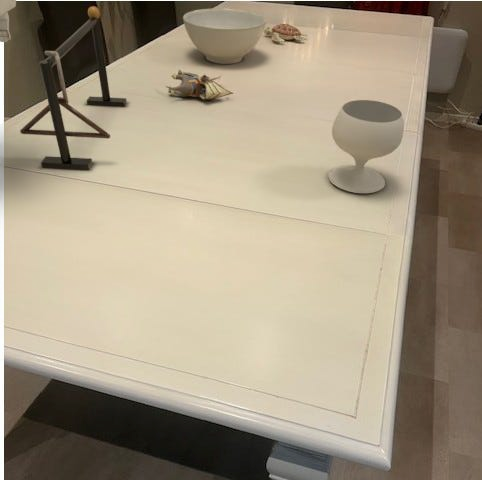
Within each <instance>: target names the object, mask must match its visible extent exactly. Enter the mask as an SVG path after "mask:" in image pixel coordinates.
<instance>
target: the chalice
mask: <svg viewBox="0 0 482 480" xmlns="http://www.w3.org/2000/svg"><path fill="white" fill-rule="evenodd" d="M404 128H405V124H404V117H403V114H402V111H401V110H400V109H399V108H397V107H396V106H394V105H391V104H389V103H386V102H382V101H378V100H372V99H371V100H369V99H357V100H352V101H351V100H350V101H348V102H346V103H344V104H343V105H342V106H341V107H340V109H339V111H338V112H337V114H336V116H335V119H334V121H333V124H332V127H331V135H332V139H333V141H334V144H335V145H336V146H337V147H338V148H339V149H340V150H342V151H343V152H344V153H346V154H348V155H349V156H351V157H352V158H353V159H354V164H355V165H353V164H352V165H350V164H349V165H346V164H345V165H341V166H337V167H335V168H333V169H331V170H330V171H329V173H328V179H329V182H331V183H332V185H334V186H335V187H337V188H339V189H341V190H344V191H346V192H350V193H356V194H371V193H376V192H379V191H381V190H383V188H384V187H385V185H386V180H385V179H384V177H383V175H381V174H380V173H379V172H377V171H376V170H374V169H371V168H369V167H365V165H366V163H367V162H368V161H370V160H372V159H378V158H382V157H385V156H388V155H390V154H392V153H393V152H394V151H396V150H397V149H398V148H399V147H400V145H401V144H402V140H403V137H404Z"/></svg>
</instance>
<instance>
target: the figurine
mask: <svg viewBox="0 0 482 480" xmlns="http://www.w3.org/2000/svg"><path fill="white" fill-rule="evenodd" d="M170 77H171V78H172V79H173V80H176V81H177V80H179V81H181V82H180V83H179V85H178V86H175V87H172V86H165V88H167V89H168V91H167V93H168V94H171V95H172V96H174V95H176V96H178V97H182V98H186V97H192V98H195V97H196V98H197V97H198V98H200V99H202V100H204V101H205V100H209V101H211V100H215V99H219V98H222V97H226V96H229V95H234V92H232V91H230V90H228V89H226V88H224V87H222V86H223V85H222V84H220V83H217V82H216V80H218V81H220V80H221V78H222V77H223V75H220V76H216V77H211V78H210V76H207V74H203V75H201V76H199V75H198V74H196V73H191V72H186V71H185V70H180V69H178V72H176V73H173V74H171V76H170Z"/></svg>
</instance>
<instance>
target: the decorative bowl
mask: <svg viewBox="0 0 482 480" xmlns="http://www.w3.org/2000/svg"><path fill="white" fill-rule="evenodd" d="M182 20H183V24H184V28H185V31H186V33H187V35H188V37H189V39H190V40H191V42H192V44H193V45H194V47H195V48H196V49H197V50H198V51H199V52H200V53H202V54H203V55H204V56H205V58H206V60H207V61H209V62H212V63H215V64H221V65H222V64H223V65H231V64H236V63H239V62H241V61H242V60H243V58H244V56H246V55H248V54H249V53H250V52H252V50H253V49H254V48H255V47H256V46H257V44H258V42H259V41H260V39H261V37H262V35H263V33H264V30H265V28H266V24H267V19H266V18H265V17H264V16H263V15H261V14H258V13H257V12H252V11H249V10H244V9H237V8H236V9H235V8H225V7H223V8H220V7H217V8H214V7H213V8H201V9H200V8H199V9H195V10H191V11H188V12H186V13H185V14H184V15H183V16H182Z"/></svg>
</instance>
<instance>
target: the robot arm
mask: <svg viewBox="0 0 482 480" xmlns="http://www.w3.org/2000/svg"><path fill="white" fill-rule="evenodd" d="M16 6H17V0H0V42H1V43H8V42H9V41H11V39H12V36H11V33H10V16H9V11H11V10H13V9H14V8H16Z"/></svg>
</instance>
